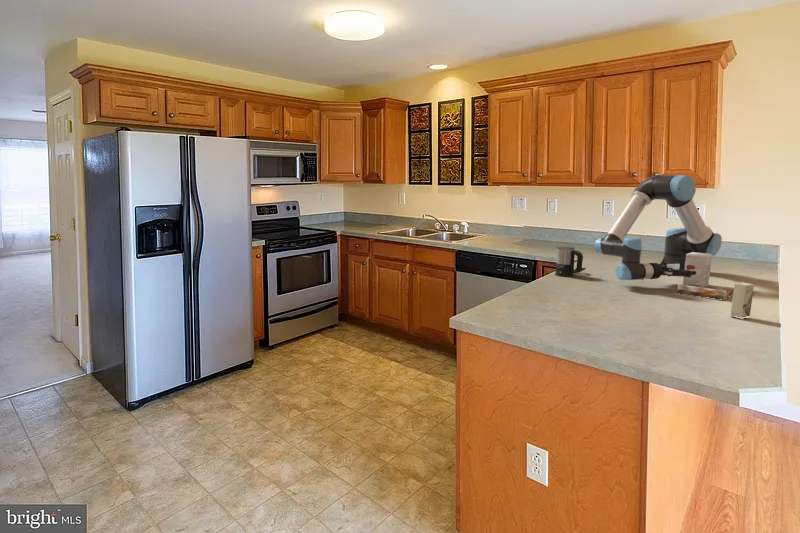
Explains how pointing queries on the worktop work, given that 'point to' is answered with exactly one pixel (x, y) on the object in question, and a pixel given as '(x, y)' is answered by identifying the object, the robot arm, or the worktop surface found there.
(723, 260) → the worktop surface
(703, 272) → the supplement box
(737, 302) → the box
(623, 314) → the worktop surface
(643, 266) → the robot arm
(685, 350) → the worktop surface
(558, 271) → the milk frother
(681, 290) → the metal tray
